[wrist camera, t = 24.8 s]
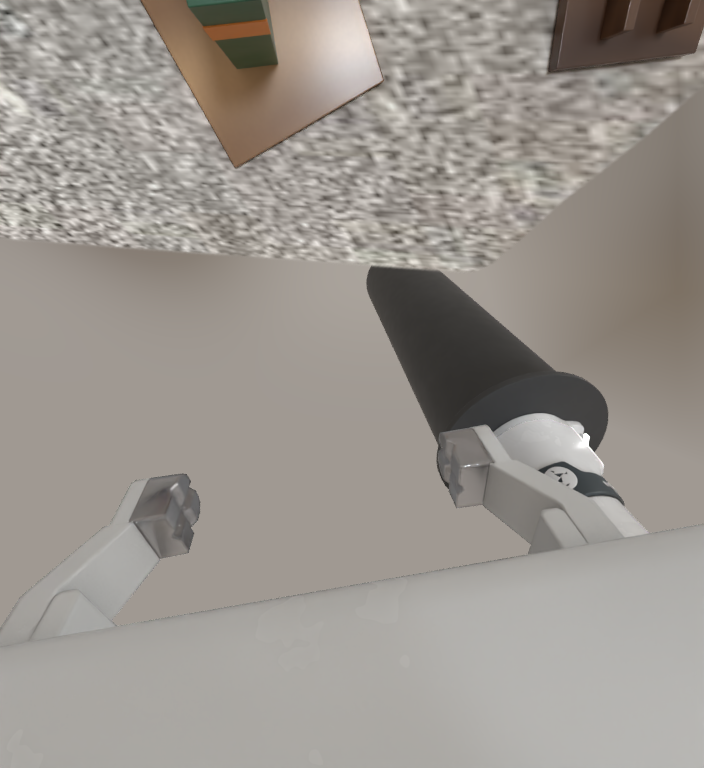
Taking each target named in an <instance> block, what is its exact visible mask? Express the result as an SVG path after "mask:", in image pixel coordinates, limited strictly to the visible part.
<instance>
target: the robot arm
mask: <svg viewBox="0 0 704 768" xmlns="http://www.w3.org/2000/svg"><path fill="white" fill-rule="evenodd" d="M583 433H584V427H583V426H582V425H581V423H580V422H577V421H565V420H562V419H560V418H558V417H556V416H554V415H551V414H546V413H533V414H527V415H523V416H520V417H517V418H515V419H513V420H510V421H508V422H507V423H505V424H503V425H502V426H500V427H499V428H498V429H496V430H495V431H494V432H492V430H491V429H490V428H489V426H487V425H482V426H476V427H471V428H465V429H459V430H453V431H447V432H441V433H440V435H439V443H440V445H441V447H442V448H441V449H440V451H439V452H438V460H439V467H440V470H441V474H442V476H443V478H444V480H445V481H446V482H448V483H449V492H450V495H451V497H452V499H453V501H454V504H455V506H456V508H462V507H469V506H476V505H483V506H484V507H485V508H487V509H488V510H489V511H490V512H491V513H493V514H494V515H495V516H496V517H498V518H499V519H500V520H502V522H504V523H505V524H506V525H507V526H509V527H510V528H511V529H512V530H514V531H515V532H516V533H517V534H519V535H520V536H521V537H522V538H524V539H525V540H526V541H527V542H528V543H530V544H531V546H530V549H529V552H528V555H522V556H516V557H511V558H505V559H499V560H494V561H488V562H482V563H476V564H471V565H465V566H459V567H453V568H448V569H442V570H436V571H431V572H425V573H419V574H413V575H408V576H402V577H396V578H390V579H385V580H379V581H374V582H368V583H362V584H356V585H350V586H345V587H339V588H334V589H328V590H322V591H316V592H310V593H305V594H299V595H293V596H287V597H282V598H276V599H270V600H264V601H259V602H253V603H247V604H242V605H236V606H230V607H224V608H218V609H213V610H207V611H201V612H195V613H190V614H184V615H178V616H172V617H167V618H161V619H155V620H149V621H144V622H138V623H132V624H127V625H121V626H117V625H116V624H115V623H114V622H112V620H113V618H114V617H115V616H116V615H117V613H118V612H119V611H120V610H121V608H122V607H123V606H124V605H125V603H126V602H127V601H128V600H129V599H130V597H131V596H132V595H133V594H134V592H135V591H136V590H137V589H138V587H139V586H140V585H141V584H142V582H143V581H144V580H145V579H146V577H147V576H148V575H149V574H150V572H151V571H152V570H153V569H154V567H155V566H156V565H157V564H158V562H159V561H160V559H161V558H166V557H171V556H176V555H181V554H186V553H189V549H190V546H191V543H192V539H193V535H194V532H193V530H192V529H191V527H192V526H193V525H194V524H195V523H196V522H197V521H198V518H199V514H200V500H199V496H198V494H197V492H196V491H195V490H193V489H192V488H190V487H189V485H190V482H191V481H190V479H189V477H188V476H187V474H176V475H169V476H162V477H154V478H150V479H142V480H135V481H134V482H133V483H131V485H130V486H129V488H128V490H127V492H126V494H125V496H124V498H123V500H122V502H121V504H120V505H119V508H118V509H117V511H116V514H115V515H114V517H113V519H112V521H111V523H110V525H109V526H105V527H103V528H102V529H101V530H99V531H98V532H97V533H96V534H95V535H93V536H92V537H91V538H90V539H89V540H87V541H86V542H85V543H84V544H83V545H81V546H80V547H79V548H78V549H77V550H75V551H74V552H73V553H72V554H71V555H69V556H68V557H67V558H66V559H65V560H64V561H62V562H61V563H60V564H59V565H58V566H56V567H55V568H54V569H53V570H52V571H50V572H49V573H48V574H47V575H46V576H44V578H42V579H41V580H40V581H39V582H37V583H36V584H35V585H34V586H33V587H31V588H30V589H29V590H28V591H27V592H25V593H24V594H23V595H22V596H21V597H20V598H19V600H18V601H17V603H16V604H15V606H14V607H13V609H12V611H11V612H10V614H9V615H8V617H7V618H6V620H5V622H4V623H3V625H2V627H1V628H0V768H704V524H700V525H694V526H689V527H683V528H677V529H672V530H666V531H660V532H655V533H649V532H648V531H647V530H646V529H645V528H644V527H643V526H642V525H641V524H640V523H639V522H638V521H637V520H636V519H635V518H634V517H633V515H632V514H631V513H630V512H629V511H628V510H627V509H626V508H625V506H624V501H623V500H622V499H621V497H620V496H619V495H618V493H617V491H616V490H615V489H614V488H613V487H612V485H610V484H609V483H608V482H607V481H606V480H605V479H604V478H603V477H602V475H603V468H604V465H603V463H602V461H601V460H600V459H599V458H598V457H597V455H596V454H595V453H594V452H593V451H592V449H591V448H590V447H589V446H588V444H589V436H588V435H587V434H584V438H583Z"/></svg>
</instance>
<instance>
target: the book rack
mask: <svg viewBox="0 0 704 768" xmlns="http://www.w3.org/2000/svg"><path fill="white" fill-rule="evenodd" d="M703 27H704V0H560V1H559V7H558V14H557V20H556V26H555V33H554V39H553V46H552V52H551V59H550V65H549V72H553V71H561V70H569V69H578V68H586V67H594V66H603V65H611V64H619V63H628V62H636V61H644V60H653V59H661V58H669V57H678V56H684V55H688V54H692V53H695V52H696V49H697V46H698V43H699V40H700V36H701V33H702V30H703Z"/></svg>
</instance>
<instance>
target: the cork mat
mask: <svg viewBox="0 0 704 768" xmlns="http://www.w3.org/2000/svg"><path fill="white" fill-rule="evenodd" d="M141 2H142V3H143V5H144V7H145V9H146V11H147V12H148V14H149V16H150V18H151V19H152V21H153V23H154V25H155V26H156V28H157V30H158V32H159V34H160V35H161V37H162V39H163V41H164V42H165V44H166V46H167V48H168V50H169V51H170V53H171V55H172V57H173V58H174V60H175V62H176V64H177V66H178V67H179V69H180V71H181V73H182V74H183V76H184V78H185V80H186V81H187V83H188V85H189V87H190V89H191V90H192V92H193V94H194V96H195V97H196V99H197V101H198V103H199V105H200V106H201V108H202V110H203V112H204V113H205V115H206V117H207V119H208V121H209V122H210V124H211V126H212V128H213V129H214V131H215V133H216V135H217V137H218V138H219V140H220V142H221V144H222V145H223V147H224V149H225V151H226V152H227V154H228V156H229V158H230V160H231V161H232V163H233V165H234V167H238V166H240V165H242V164H243V163H245V162H247V161H249V160H250V159H252V158H254V157H255V156H257V155H259V154H261V153H262V152H264V151H266V150H267V149H269V148H271V147H273V146H274V145H276V144H278V143H279V142H281V141H283V140H285V139H286V138H288V137H290V136H291V135H293V134H295V133H296V132H298V131H300V130H302V129H303V128H305V127H307V126H308V125H310V124H312V123H314V122H315V121H317V120H319V119H320V118H322V117H324V116H326V115H327V114H329V113H331V112H332V111H334V110H336V109H338V108H339V107H341V106H343V105H344V104H346V103H348V102H350V101H351V100H353V99H355V98H356V97H358V96H360V95H362V94H363V93H365V92H367V91H368V90H370V89H372V88H374V87H375V86H377V85H379V84H380V83H382V82H383V81H384V79H383V76H382V73H381V70H380V66H379V63H378V60H377V57H376V53H375V50H374V47H373V44H372V41H371V37H370V34H369V31H368V28H367V25H366V21H365V18H364V15H363V12H362V9H361V5H360V2H359V0H268V4H269V10H270V16H271V22H272V28H273V34H274V40H275V46H276V52H277V58H278V64H277V65H268V66H260V67H252V68H243V69H237V68H236V67H235V66H234V65H233V63H232V62H231V61H230V60H229V58H228V57H227V56H226V55H225V53H224V52H223V51H222V49H221V48H220V47H219V46H218V44H217V43H216V42H215V41H213V40H212V39H211V38H210V37H209V35H208V34H207V33H206V32H205V30H204V29H203V27H202V26H203V25H202V24H201V23H200V22H199V20H198V19H197V18H196V17H195V15H194V14H193V13H192V12H191V10H190V9H189V8H188V6H187V2H186V0H141Z"/></svg>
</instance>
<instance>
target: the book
mask: <svg viewBox="0 0 704 768" xmlns="http://www.w3.org/2000/svg"><path fill="white" fill-rule="evenodd" d="M186 2H187V6H188V8H189V9H190V10H191V12H192V13H193V14H194V15H195V17H196V18H197V19H198V20H199V22H200V23H201V24H202V25H203V26H202V27H203V29H204V30H205V32H206V33H207V34H208V35H209V37H210V38H211V39H212V40H213V41H215V42H216V43H217V44H218V46H219V47H220V48H221V49H222V51H223V52H224V53H225V55H226V56H227V57H228V58H229V60H230V61H231V62H232V63H233V65H234V66H235V67H236V68H237V69H243V68H252V67H260V66H268V65H277V64H278V58H277V52H276V46H275V40H274V34H273V28H272V22H271V16H270V10H269V4H268V0H186Z"/></svg>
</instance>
